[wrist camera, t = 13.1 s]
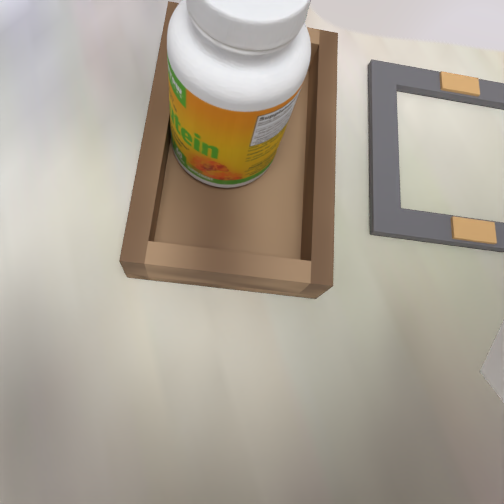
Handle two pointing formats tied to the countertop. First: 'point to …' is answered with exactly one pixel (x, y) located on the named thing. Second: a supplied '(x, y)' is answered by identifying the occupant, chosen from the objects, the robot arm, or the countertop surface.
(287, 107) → the supplement bottle
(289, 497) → the countertop surface
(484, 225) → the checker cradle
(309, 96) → the brown rectangular tray
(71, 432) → the countertop surface
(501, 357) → the robot arm
